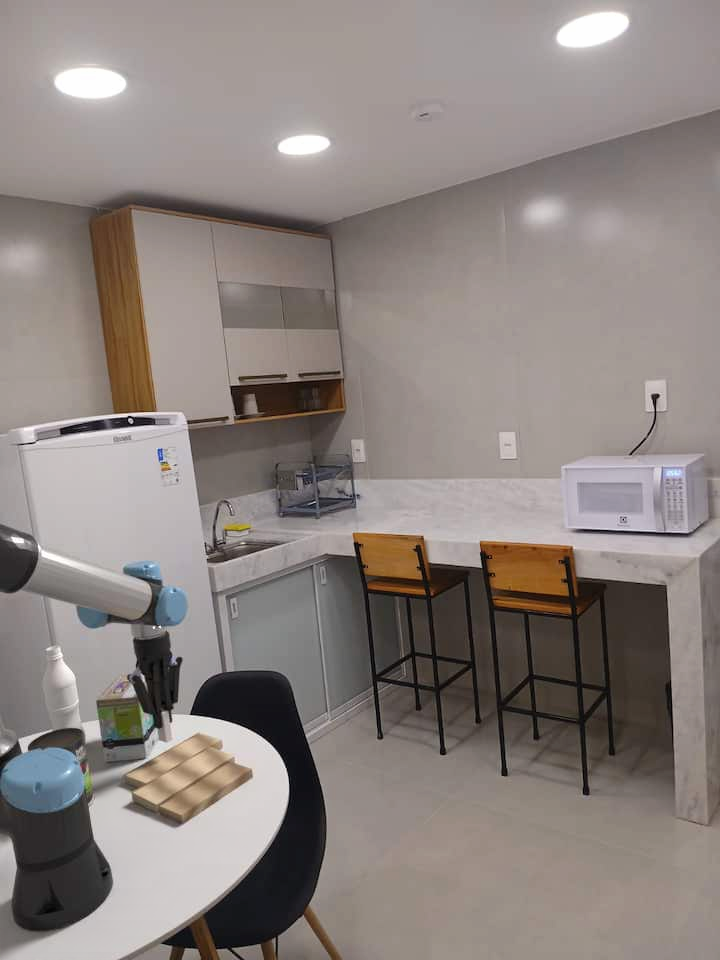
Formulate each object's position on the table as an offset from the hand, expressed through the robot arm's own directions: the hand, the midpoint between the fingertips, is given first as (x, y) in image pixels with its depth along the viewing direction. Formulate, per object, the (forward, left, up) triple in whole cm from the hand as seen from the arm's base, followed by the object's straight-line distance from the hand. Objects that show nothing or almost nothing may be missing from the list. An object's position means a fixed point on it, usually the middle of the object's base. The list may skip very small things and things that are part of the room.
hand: (165, 739), depth 159 cm
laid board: (-4, -18, -6) cm, 19 cm away
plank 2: (-3, -10, -5) cm, 12 cm away
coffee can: (-20, +6, -6) cm, 22 cm away
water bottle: (-6, +28, -6) cm, 30 cm away
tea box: (+3, +15, -6) cm, 17 cm away
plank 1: (+1, -1, -6) cm, 6 cm away
